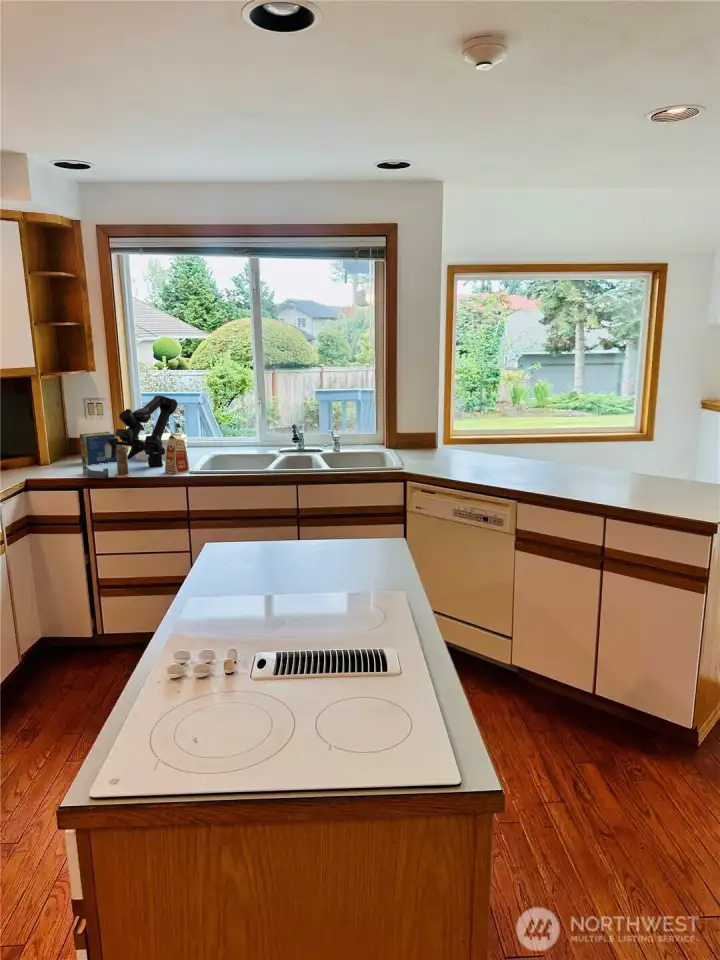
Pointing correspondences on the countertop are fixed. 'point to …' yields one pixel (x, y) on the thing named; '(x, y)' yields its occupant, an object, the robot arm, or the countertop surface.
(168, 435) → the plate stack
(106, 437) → the protein box
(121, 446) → the pepper mill
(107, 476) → the gray curved bracket
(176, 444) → the milk carton
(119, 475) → the trivet
